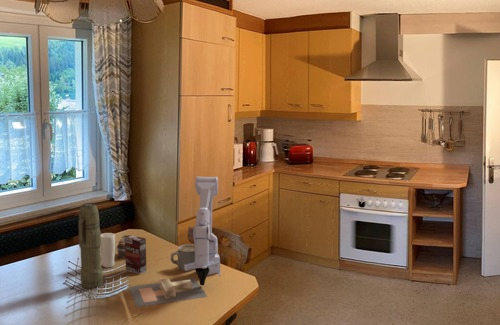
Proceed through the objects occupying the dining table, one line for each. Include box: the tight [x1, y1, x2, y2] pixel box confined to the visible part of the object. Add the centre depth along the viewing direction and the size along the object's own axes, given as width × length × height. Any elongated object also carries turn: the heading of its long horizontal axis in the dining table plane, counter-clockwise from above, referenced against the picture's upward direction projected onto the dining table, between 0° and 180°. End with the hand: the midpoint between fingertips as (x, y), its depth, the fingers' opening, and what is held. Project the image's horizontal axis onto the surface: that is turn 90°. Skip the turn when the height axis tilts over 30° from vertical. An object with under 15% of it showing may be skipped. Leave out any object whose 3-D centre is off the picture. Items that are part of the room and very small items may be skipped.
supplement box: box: [125, 234, 147, 275], centre depth 229 cm, size 9×5×16 cm, turn 62°
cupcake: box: [116, 234, 132, 260], centre depth 250 cm, size 10×10×10 cm
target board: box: [128, 277, 208, 308], centre depth 207 cm, size 28×20×1 cm
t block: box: [159, 278, 193, 298], centre depth 208 cm, size 12×12×3 cm
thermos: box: [77, 202, 103, 290], centre depth 212 cm, size 9×12×35 cm
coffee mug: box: [170, 243, 196, 272], centre depth 234 cm, size 13×10×10 cm
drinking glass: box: [100, 232, 116, 268], centre depth 236 cm, size 7×7×15 cm
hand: (202, 284), depth 212 cm, fingers closed
